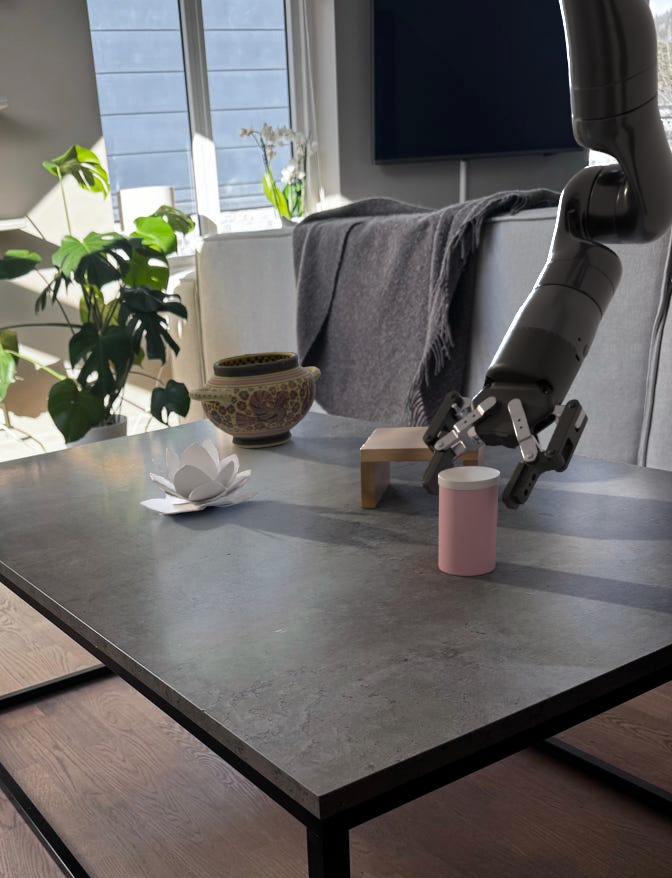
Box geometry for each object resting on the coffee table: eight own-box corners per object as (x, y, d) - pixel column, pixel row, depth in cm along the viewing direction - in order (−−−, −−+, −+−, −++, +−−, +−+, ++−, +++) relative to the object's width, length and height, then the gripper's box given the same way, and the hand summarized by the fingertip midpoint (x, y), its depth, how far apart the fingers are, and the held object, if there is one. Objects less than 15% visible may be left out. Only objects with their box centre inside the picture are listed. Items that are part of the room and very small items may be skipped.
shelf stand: (484, 482, 112) (485, 424, 109) (476, 508, 103) (478, 446, 100) (377, 482, 117) (376, 427, 114) (361, 508, 107) (359, 449, 104)
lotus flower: (117, 514, 115) (112, 443, 112) (200, 497, 125) (198, 432, 122) (197, 525, 105) (194, 448, 102) (281, 506, 115) (280, 435, 112)
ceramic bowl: (299, 438, 157) (280, 349, 154) (365, 423, 141) (346, 324, 138) (177, 469, 146) (154, 374, 143) (234, 456, 131) (210, 350, 128)
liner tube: (498, 557, 88) (501, 465, 85) (494, 577, 84) (498, 481, 80) (440, 556, 90) (441, 466, 87) (434, 575, 86) (434, 481, 82)
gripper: (462, 323, 88) (387, 467, 87) (604, 324, 78) (521, 487, 77) (492, 370, 94) (422, 506, 92) (629, 377, 83) (552, 531, 82)
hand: (467, 497), depth 84 cm, fingers open, 8 cm apart
